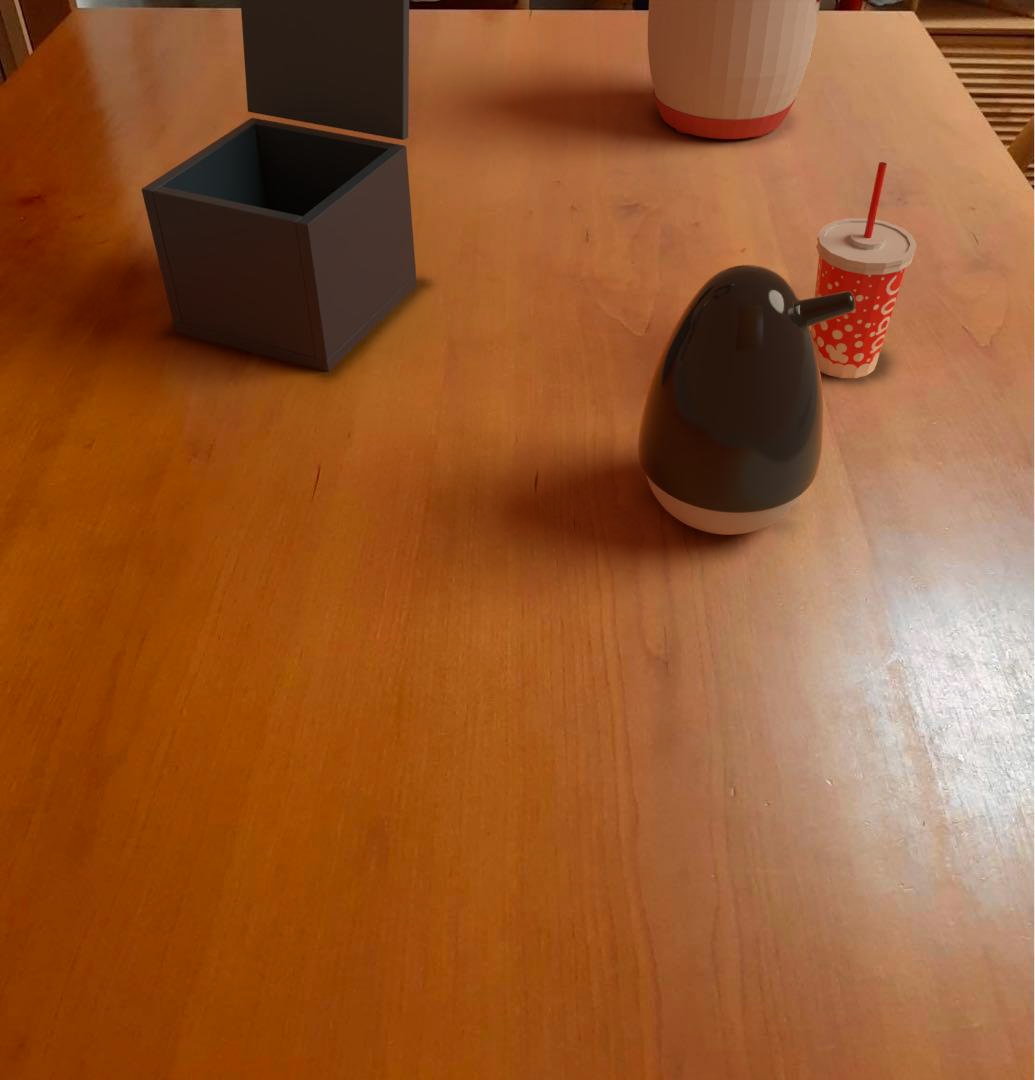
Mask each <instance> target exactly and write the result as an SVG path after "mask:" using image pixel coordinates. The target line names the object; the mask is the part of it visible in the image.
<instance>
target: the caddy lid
mask: <svg viewBox="0 0 1035 1080" xmlns="http://www.w3.org/2000/svg"><path fill="white" fill-rule="evenodd" d="M240 12H241V27H242V29H241V30H242V43H243V57H244V58H243V60H244V73H245V74H244V76H245V85H246V86H245V87H246V105H247V112H248V113H251V114H257V115H263V116H269V117H273V118H280V119H286V120H291V121H297V122H302V123H307V124H312V125H313V124H314V125H318V126H325V127H328V128H335V129H338V130H339V129H340V130H346V131H352V132H357V133H362V134H368V135H373V136H379V137H384V138H389V139H395V140H401V141H404V140H407V139H408V138H409V104H410V103H409V100H410V99H409V95H410V93H409V92H410V90H409V89H410V83H409V82H410V79H409V78H410V0H240Z"/></svg>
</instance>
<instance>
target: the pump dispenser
mask: <svg viewBox="0 0 1035 1080" xmlns="http://www.w3.org/2000/svg"><path fill="white" fill-rule="evenodd" d="M814 297H815V296H814ZM814 297H810V298H809V297H808V298H805V299H799V298H798V296H797V294H796V293H795V290H794V289H793V288H792V286H791V285H790V284H789V282H788V281H787V280H786V279H785V277H783V276H782V275H781V274H779V273H778V272H776V271H774V270H772V269H770V268H768V267H764V266H761V265H758V264H757V265H756V264H740V265H735V266H734V265H733V266H730V267H728V268H725V269H721V271H719V272H717V273H716V274H714V275H713V276H711V277H710V278H709V279H708V280H707V281H706V282H705V283H704V284H703V285H702V286H701V287H700V288H699V289H698V291H697V292H696V293H695V294H694V296H692V298H691V300H690V301H689V303H688V304H687V306H686V307H685V308H684V310H683V312H682V313H681V315H680V317H679V319H678V320H677V321H676V323H675V325H674V326H673V327H674V328H673V329H672V331H671V333H670V335H669V336H668V339H667V340H666V342H665V345H664V346H663V349H662V351H661V353H660V355H659V359H658V361H657V363H656V366H655V368H654V371H653V374H652V376H651V379H650V382H649V386H648V389H647V394H646V398H645V401H644V406H643V410H642V413H641V417H640V418H641V419H640V425H639V428H638V435H637V436H638V437H637V438H638V439H637V456H638V462H639V464H640V466H641V469H642V471H643V472H644V474H645V477H646V481H647V482H648V484H649V488H650V490H651V491H652V493H653V495H654V497H655V498H656V500H657V501H658V502H659V504H660V505H661V506H662V507H663V509H664V510H665V511H667V512H668V513H669V515H671V516H672V517H674V518H675V519H677V520H678V521H680V522H681V523H683V524H685V525H687V526H688V527H691V528H693V529H696V530H698V531H701V532H705V533H710V534H715V535H727V536H728V535H729V536H730V535H732V536H733V535H742V534H748V533H752V532H755V531H759V530H762V529H765V528H766V527H768V526H770V525H773V524H774V523H776V522H777V521H779V520H780V519H781V518H783V517H784V516H786V514H788V512H790V511H791V510H792V508H793V507H794V506H795V505H796V504H797V503H798V501H799V500H800V498H801V497H802V496H803V494H804V493H805V492H806V491H807V490H808V489H809V488H810V486H811V485H812V484H813V482H814V480H815V479H816V477H817V474H818V472H819V471H818V470H819V467H820V463H821V462H820V461H821V458H822V451H823V450H822V448H823V436H824V435H823V433H824V393H823V392H824V391H823V382H822V374H821V373H822V372H821V371H820V367H819V361H818V356H817V351H816V347H815V343H814V339H813V336H812V333H811V326H812V325H814V324H817V323H820V322H823V321H826V320H829V319H832V318H835V317H838V316H841V315H844V314H847V313H850V312H852V311H853V310H854V309H855V298H854V295H853V294H852V293H851V292H849V291H846V292H841V293H835V294H830V295H825V296H820V297H815V298H814Z"/></svg>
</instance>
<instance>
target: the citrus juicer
mask: <svg viewBox="0 0 1035 1080" xmlns="http://www.w3.org/2000/svg"><path fill="white" fill-rule="evenodd" d="M821 1H822V0H648V13H647V54H648V62H649V63H648V65H649V72H650V76H651V82H652V88H653V96H654V100H655V104H656V105H657V108H658V111H659V114H660V117H661V118H662V120H663V122H665V123H666V124H667V125H669V126H670V127H672V128H673V129H675V130H676V131H677V132H678V133H680V134H684V135H692V136H696V137H701V138H709V139H719V140H734V139H735V140H738V139H748V138H761V137H764V136H765V135H766V134H769V133H770V132H772V131H773V132H774V130H776V129H777V128H779V127H780V126H781V125H782V124H783V122H784V120H785V119H786V117H787V115H788V114H789V113H790V110H791V109H792V107H793V105H794V103H795V102H796V98H797V97H796V96H797V94H798V91H799V89H800V87H801V86H802V83H803V81H804V78H805V74H806V72H807V69H808V66H809V62H810V60H811V55H812V51H813V45H814V41H815V36H816V31H817V27H818V18H819V15H820V8H821V7H820V6H821Z"/></svg>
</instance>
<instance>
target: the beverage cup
mask: <svg viewBox="0 0 1035 1080" xmlns="http://www.w3.org/2000/svg"><path fill="white" fill-rule="evenodd" d="M887 166H888V164H887V162H884V161H879V162H878V165H877V169H876V176H875V180H874V186H873V190H872V194H871V199H870V204H869V208H868V209H869V210H868V214H867V217H847V218H842V219H837V220H833V221H831V222H829V223H827V224H825V225H824V226H822V227H821V228H820V230H819V232H818V234H817V238H816V240H817V244H816V246H815V247H816V250H817V253H818V262H817V272H816V279H815V288H814V297H813V298H815V297H820V296H825V295H830V294H835V293H841V292H846V291H849V292H851V293H852V294H853V295H854V298H855V309H854V310H853V311H852V312H850V313H847V314H844V315H841V316H838V317H835V318H832V319H829V320H826V321H823V322H820V323H817V324H814V325H812V326H810V330H811V333H812V336H813V339H814V343H815V347H816V351H817V356H818V361H819V367H820V373H823V374H825V375H827V376H829V377H830V376H831V377H834V378H839V379H857V378H863V377H866V376H868V375H869V374H871V373H872V372H874V371H875V369H876V366H877V363H878V360H879V357H880V354H881V351H882V348H883V344H884V341H885V338H886V334H887V331H888V328H889V325H890V322H891V318H892V316H893V312H894V308H895V306H896V302H897V299H898V295H899V292H900V289H901V285H902V282H903V279H904V276H905V273H906V269H907V267H909V266H911V264H912V261H913V259H914V255H915V252H916V250H917V246H918V244H917V241H916V240H915V237H914V235H913V234H911V233H910V232H908V231H907V230H906V229H904V228H903V227H902V226H899V225H896V224H894V223H891V222H889V221H886V220H880V219H876V217H877V213H878V208H879V205H880V198H881V194H882V189H883V185H884V179H885V175H886V169H887Z"/></svg>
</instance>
